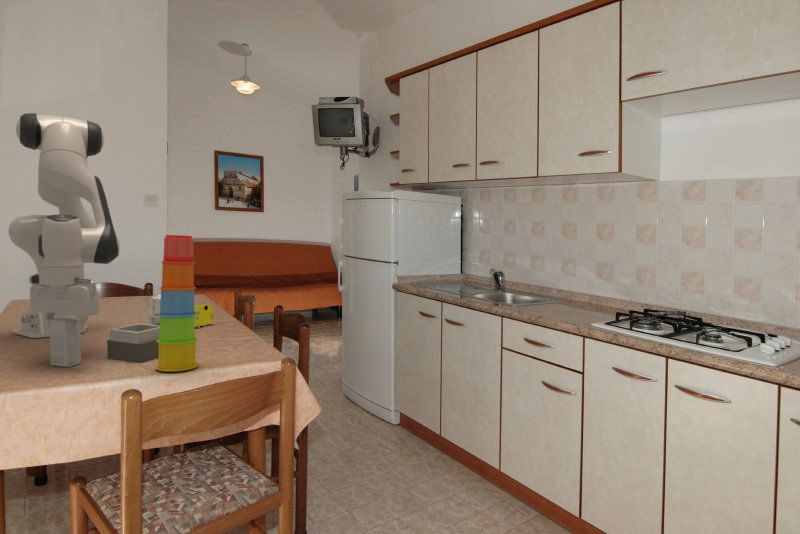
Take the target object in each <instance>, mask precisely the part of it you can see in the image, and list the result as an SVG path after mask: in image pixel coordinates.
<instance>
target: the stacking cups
mask: <svg viewBox="0 0 800 534" xmlns="http://www.w3.org/2000/svg"><path fill="white" fill-rule="evenodd" d="M160 262H161V263H162V267H161V270H162V271H161V273H162V274H161V286H160V287H159V289H160V290H161V291H160V296H161V313H159V314H158V316H160V332H159V339H158V340H157V343H159V357H158V363H157V365H155V370H157V371H159V372H167V373H171V372H174V373H175V372H184V371H185V372H186V371H189V370H193V369H196V368H198V367H199V362H198V361H196V360H197V357H196V354H197V353H196V342H197V341H198V340H199V338H198V337H197V336H196V327H195V315H196V314H197V313H196V312H194V306H195V290H196V289H197V287H196V286H195V285H194V283H195V278H194V277H195V276H194V274H195V273H194V272H195V270H194V266H195V264H196V261H194V238H193V236H192V235H181V234H176V235H175V234H165V237H164V238H163V260H161V261H160Z"/></svg>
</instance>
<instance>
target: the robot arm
mask: <svg viewBox="0 0 800 534" xmlns="http://www.w3.org/2000/svg"><path fill="white" fill-rule="evenodd" d="M15 133H16V136H17V138H18V140H19V144H21V145H22V146H23V147H24V148H26V149H27V148H28V149H31V150H33V151H36V150H39V151H40V152H39V158H38V171H37V175H38V177H37V193H38V196H39V197H40V198H41V200H43V201H44V202H45V203H48V204H50V205H52V206H54V207H55V208H56V207H57V209H58V212H59V214H50V215H49V214H48V215H47V214H30V215H23V216H18V217H17V216H16V217H15V218H14V219H13V220H12V221H11V222H10V224H9V226H8V236H9V239H10V241H11V242H12V243H13V245H15V247H17V248H19V249H21V250H22V251H24V252H25V253H26V254H28V256H29V257H30V258H31V260H32V261H33V263H34V265H35V267H36V270H37V273H34V274H32V275H30V276H29V278H28V283H29V285H31V286H30V288H29V299H30V300H29V303H30V307H29V308H28V309H27V310H25V311H24V312H23V313H22V314H21V315H20V316H21V317H20V326H19V327H16V328H13V329H11V334H16V335H19V336H23V337H27V338H31V339H38V338H39V339H40V338H50V326H49V320H52V319H58V318H72V319H78V322H77V325H74V331H75V332H80V334H82V333H85V332H86V331H87V329H88V324H86V323H87V322H88V320H89V316H94V315H98V314H99V312H100V311H101V310H100V309H101V308H100V307H101V306H100V298H99V294H98V293H99V292H98V289H97V287H96V284H95V283H94V281H93V280H92V279H90V278H85V264H103V265H108V264H110V263H112V262H113V261H114V260H115V259H117V258H118V257H119V253H120V250H121V247H120V240H119V237H118V235H117V233H116V231H115V227H114V224H113V220H112V216H111V212H110V209H109V203H108V199H107V196H106V192H105V190H104V187H103V183H102V181H101V179H100V178H99V177H98V176H96V175H94V174H93V173H92V172H91V170H90V169H89V166H88V158H89V157H92V156H96V155H98V154H99V153H101V150H102V149H103V148H104V143H105V136H104V133H103V130H102V127H101V126H100V125H99V124H98V123H95V122H93V121H89V120H86V121H85V120H82V119H79V118H73V117H68V116H61V115H60V116H58V115H52V114H37V113H36V112H35V113H34V112H33V113H32V112H31V113H29V112H28V113H24V114H22V115H20V116H19V119H18V121H17V123H16V125H15ZM81 198H82V199H84V200H86V201H87V202H88V203H89V204H90V205H91V208H92V213H93V216H91V215H90V214H89V212H88V211H87V210H86V209H85V207H84V205H83V202H82V200H81Z"/></svg>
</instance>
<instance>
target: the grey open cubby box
mask: <svg viewBox="0 0 800 534" xmlns="http://www.w3.org/2000/svg"><path fill="white" fill-rule="evenodd" d="M159 332H160V326H159V325H150V324H149V323H148V324H147V323H140V322H139V323H134V324H130V325H126V326H125V325H124V326H121V327H115V328H111V329H109V339H107V341H106V342H107V343H106V344H107V345H106V347H107V353H106V354H107V355H106V356H107V359H113V360H119V359H120V360H121V361H126V360H129V361H128V362H133V361H135V362H134V363H141V362H142V363H144V361H145V362H149V361H152V360H154V358H155V359H157V357H158V358H159V343H157V340H158V339H159ZM151 359H152V360H151Z"/></svg>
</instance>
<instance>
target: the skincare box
mask: <svg viewBox="0 0 800 534" xmlns="http://www.w3.org/2000/svg"><path fill="white" fill-rule="evenodd" d="M77 322H78V319H72V318H58V319H52V320H49V326H50V337H49V351H50V354H49V355H50V366H54V365H55V366H56V367H61V366H62V367H64V368H69V367H70V368H71V367H73V365H74V366H77V364H78V365H80V363H81V364H82V348H81V346H82V342H81V341H82V339H81V333H80V332H75V331H74V325H77Z"/></svg>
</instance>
